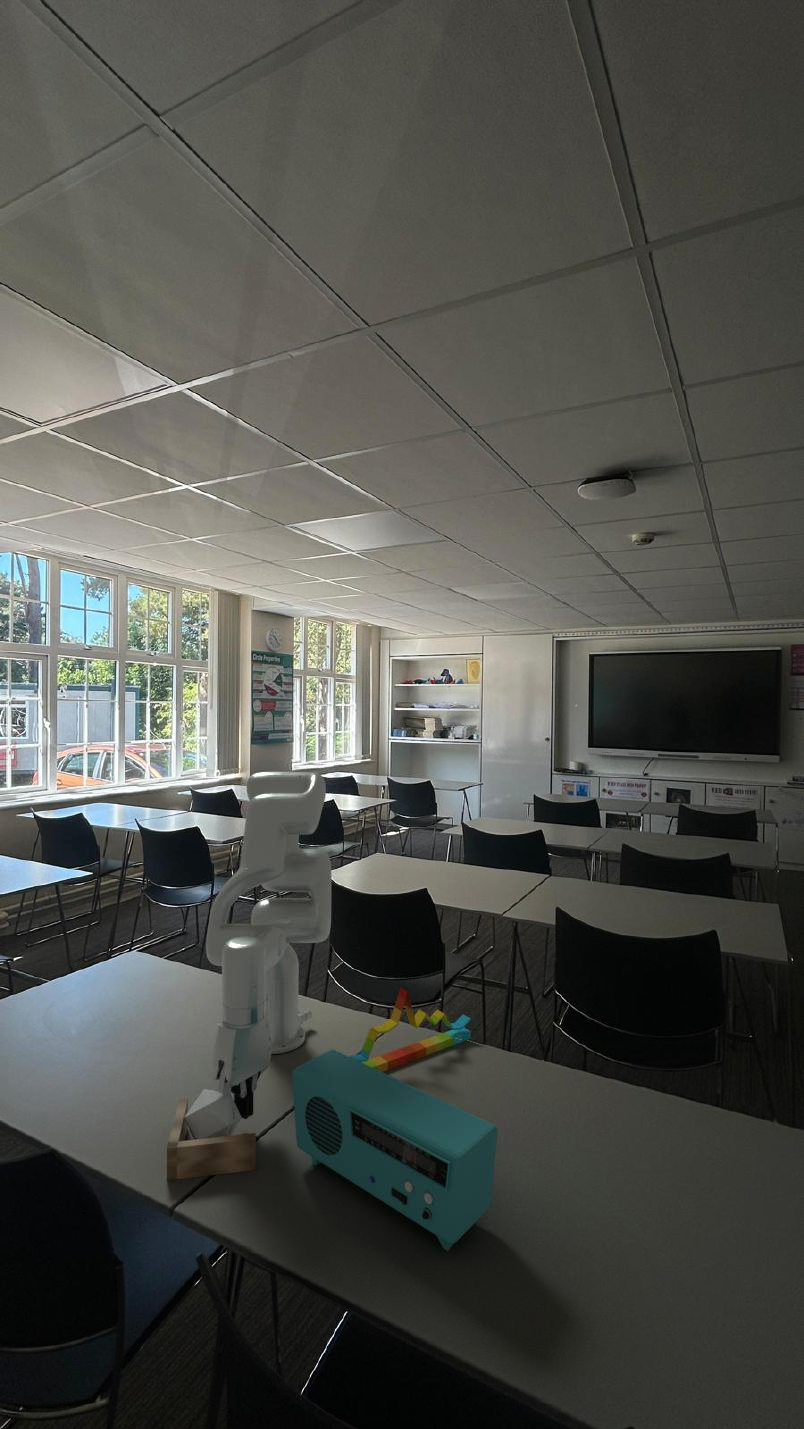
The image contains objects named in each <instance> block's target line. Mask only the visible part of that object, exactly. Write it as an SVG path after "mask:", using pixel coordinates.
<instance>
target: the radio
mask: <svg viewBox="0 0 804 1429" xmlns="http://www.w3.org/2000/svg"><path fill="white" fill-rule="evenodd" d="M291 1077H292V1089H293V1090H292V1092H293V1104H294V1105H293V1106H294V1107H293V1108H294V1121H295V1138H296V1147H297V1148H298V1149H299V1150H301V1151H302V1152H305V1154H307V1155H309V1156H310V1157H311V1164H312V1165H313V1166H315V1167H316V1166H318V1165H319V1164H323V1165H325V1167H328V1168H329V1169H331V1170H332V1171H334V1172H336V1173H337V1174H339V1175H340V1176H342V1177H343V1178H345V1179H346V1180H348V1181H350V1182H351V1183H353V1184H354V1185H356V1186H358V1187H359V1188H361V1189H362V1190H364V1191H366V1192H368V1194H371V1196H373V1197H375V1198H377V1199H378V1200H380V1201H381V1202H383V1203H385V1204H386V1205H387V1206H389V1207H390V1208H393V1209H394V1210H395V1211H397V1212H399V1213H400V1214H402V1215H404V1216H405V1217H406V1218H408V1219H409V1220H411V1221H413V1222H415V1223H417V1224H418V1225H419V1226H421V1227H423V1228H424V1229H426V1230H427V1231H428V1232H430V1233H432V1234H433V1235H435V1236H436V1237H437V1239H438V1241H439V1243H440V1245H441V1247H442V1249H444V1250H445V1251H447V1252H448V1251H449V1250H450V1249H451V1247H452V1246H453V1245H454V1244H455V1243H457V1242H458V1241H459V1240H460V1239H461V1238H462V1237H463V1235H465V1233H466V1232H468V1230H470V1228H472V1226H473V1225H475V1223H476V1222H477V1221H478V1220H479V1219H480V1218H481V1217H482V1216H483V1215H484V1214H485V1213H486V1212H487V1211H488V1210H489V1208H490V1206H491V1201H492V1200H491V1199H492V1191H493V1183H494V1182H493V1181H494V1173H495V1164H496V1163H495V1162H496V1154H497V1143H498V1133H499V1130H498V1129H499V1128H498V1127H497V1125H495V1124H494V1123H491V1122H489V1121H487V1120H485V1119H483V1118H481V1117H478V1116H477V1115H474V1114H472V1113H470V1112H468V1111H466V1110H463V1109H461V1108H460V1107H457V1106H455V1105H453V1104H451V1103H448V1102H446V1101H445V1100H443V1099H440V1098H438V1097H436V1096H434V1095H431V1094H430V1093H428V1092H425V1091H423V1090H421V1089H418V1088H417V1087H414V1086H413V1085H411V1084H408V1083H406V1082H404V1081H401V1080H399V1078H398V1079H397V1078H395V1077H393V1076H391V1075H389V1074H387V1073H385V1072H384V1071H383V1072H380V1071H378V1070H376V1069H374V1068H372V1067H370V1066H368V1065H366V1064H363V1063H361V1062H359V1061H357V1060H355V1059H353V1058H351V1057H350V1056H348V1055H347V1054H344V1053H342V1052H340V1051H337V1050H335V1049H329V1050H328V1051H325V1052H323V1053H321V1054H320V1055H317V1056H315V1057H314V1058H312V1059H310V1060H308V1061H306V1062H304V1063H303V1064H300V1065H299V1066H297V1067H295V1068H294V1069H293V1070H292V1074H291Z"/></svg>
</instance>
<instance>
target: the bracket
mask: <svg viewBox="0 0 804 1429" xmlns="http://www.w3.org/2000/svg"><path fill="white" fill-rule="evenodd" d="M188 1104H189V1101H188V1098H183V1099H178V1102H177V1106H176V1110H175V1113H174V1114H175V1115H174V1119H173V1122H172V1126H171V1130H170V1134H169V1139H168V1142H167V1147H166V1181H173V1180H175V1181H176V1180H184V1179H191V1178H201V1177H207V1176H214V1175H216V1176H217V1175H224V1174H234V1173H242V1172H249V1171H250V1172H251V1171H256V1163H257V1162H256V1158H257V1157H256V1156H257V1155H256V1152H257V1151H256V1148H257V1147H256V1146H257V1145H256V1144H257V1140H256V1139H257V1136H256V1132H252V1133H243V1134H236V1135H235V1134H233V1135H231V1136H224V1137H215V1138H205V1139H196V1140H194V1139H190V1140H186V1137H187V1136H186V1135H187V1132H188V1129H189V1127H188V1125H187V1123H186V1121H185V1119H184V1117H185V1116H186V1114H187V1113H188V1111H189V1107H188V1106H189V1105H188Z"/></svg>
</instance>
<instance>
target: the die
mask: <svg viewBox="0 0 804 1429" xmlns="http://www.w3.org/2000/svg"><path fill="white" fill-rule="evenodd" d="M184 1119H185V1121H186V1123H187V1125H188V1129H189V1131H190V1134H191V1136H192V1138H193V1140H196V1139H205V1138H215V1137H224V1136H232V1134H233V1132H234V1131H235V1129H236V1128H237V1126H238V1125H239V1123H240V1121H241V1120H242V1119H243V1118H242V1117H241V1115H240V1113H239V1111H238V1109H237V1107H236V1104H235V1102H234V1097H233V1096H232V1093H229V1094H225V1095H223V1094H220V1093H218V1090H212V1089H207V1088H206V1089H205V1088H203V1089H202V1091H201V1092H200V1094H199V1095H198V1097H197V1098H196V1100H195V1101H194V1103H192V1105H191V1107H190V1108H189V1109H188V1113H187V1114H186V1116H185V1117H184Z"/></svg>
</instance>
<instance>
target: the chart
mask: <svg viewBox="0 0 804 1429" xmlns="http://www.w3.org/2000/svg"><path fill="white" fill-rule="evenodd" d="M411 1002H412V1001H411V998H410V995H409V991H406V989H403V988H402V987H400V988H399V991H398V995H397V997H396V1001H395V1004H394V1007H393V1009H392V1014H391V1015H390V1018H389V1019H388V1020H387V1021H385V1022H384V1023H383V1024H381V1025H376V1026H371V1027H369V1030H368V1033H367V1036H366V1038H365V1041H364V1044H363V1047H362V1048H361V1051H360V1053H358V1054H351V1055H349V1057H351V1058H353V1059H355V1060H357V1061H359V1062H361V1063H363V1064H366V1065H368V1066H370V1067H372V1068H374V1069H376V1070H378V1071H380V1072H383V1073H384V1072H385V1071H388V1070H391V1069H393V1068H396V1067H400V1066H402V1065H404V1064H407V1063H410V1062H412V1061H416V1060H418V1059H421V1058H423V1057H426V1056H429V1055H431V1054H434V1053H436V1052H439V1051H441V1050H444V1049H447V1048H449V1047H452V1046H454V1045H455V1046H456V1045H457V1044H461V1043H463V1042H465V1041H464V1040H466V1041H468V1040H470V1039H471V1030H469V1029H468V1028H466V1026H467V1025H468V1023H469V1022H470V1021H471V1019H472V1018H471V1017H468V1016H467V1015H465V1014H462V1015H460V1017H459V1018H458V1019H456V1021H455V1022H450V1019H448V1017H447V1015H446V1013H444V1012H443V1011H440V1010H439V1009H436V1010H435V1011H433V1012H434V1013H432V1014H431V1016H429V1015H428V1014H427V1013H426V1012H425V1011H423V1010H421V1009H418V1010H417V1012H416V1013H415V1014H414V1010H413V1005H412V1003H411ZM404 1006H405V1007H404ZM404 1008H405V1011H406V1015H407V1018H408V1019H407V1020H408V1023H409V1025H411V1026H412V1027H414V1028H416V1029H418V1028H419V1027H420V1026H421V1024H422V1022H423V1021H424V1020H425V1019H426V1020H427V1021H428V1022H430V1023H431V1024H432V1025H435V1026H437V1025H438V1023H439V1022H440V1021H441V1020H442V1022H443V1024H444V1025H445V1027H448V1028H449V1029H451V1030H448V1031H445V1032H442V1033H438V1034H437V1035H436V1034H435V1036H431V1037H429V1038H425V1039H423V1040H420V1041H417V1042H413V1043H412V1044H410V1045H406V1046H403V1047H401V1048H397V1049H395V1050H392V1051H390V1052H387V1053H384V1054H381V1055H378V1056H376V1057H372V1058H370V1059H369V1057H370V1055H371V1054H372V1050H373V1047H374V1044H375V1042H376V1040H377V1037H378V1035H379V1034H386V1033H389V1032H390V1031H392V1030H393V1029H394V1028H396V1027H397V1026H398V1025H399V1022H400V1020H401V1016H402V1013H403V1010H404ZM446 1036H448V1037H446ZM452 1037H453V1038H452ZM455 1038H458V1039H455ZM459 1039H462V1040H459Z"/></svg>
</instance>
